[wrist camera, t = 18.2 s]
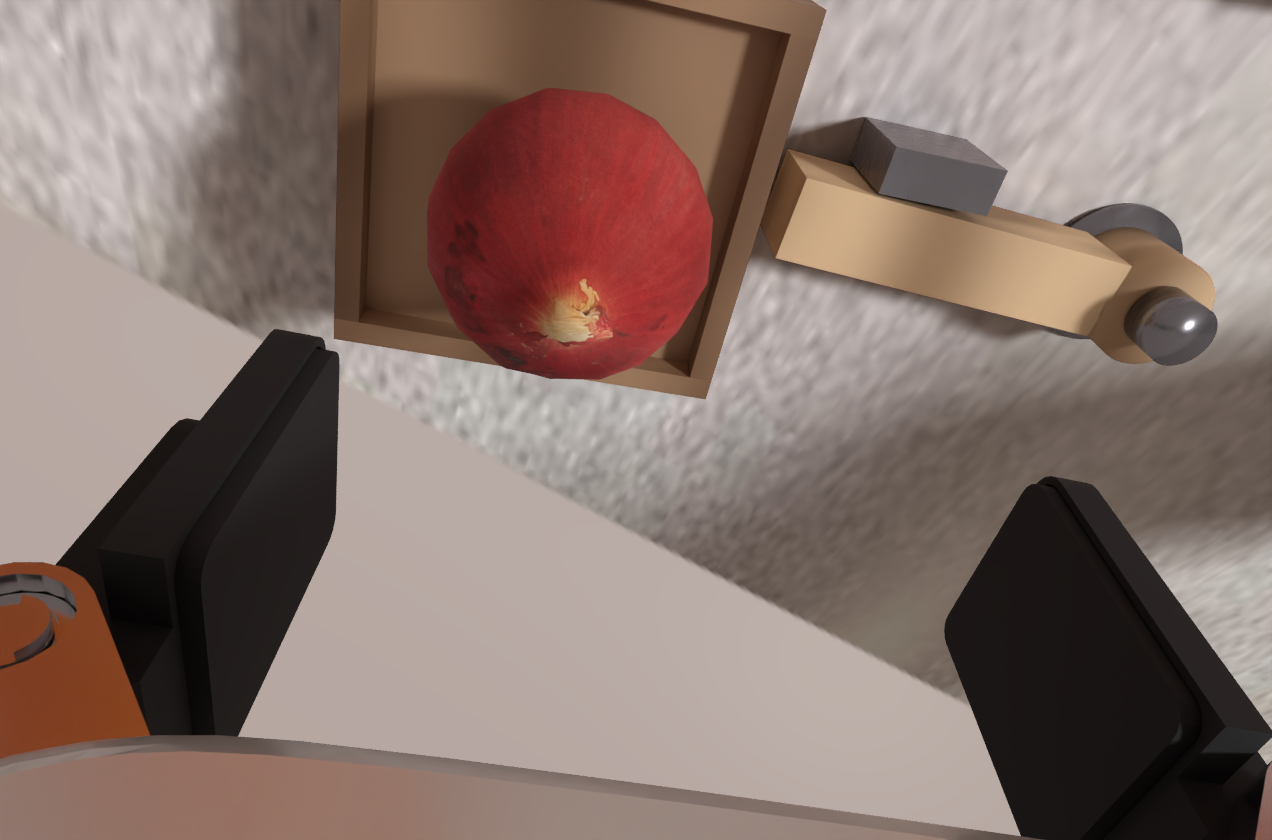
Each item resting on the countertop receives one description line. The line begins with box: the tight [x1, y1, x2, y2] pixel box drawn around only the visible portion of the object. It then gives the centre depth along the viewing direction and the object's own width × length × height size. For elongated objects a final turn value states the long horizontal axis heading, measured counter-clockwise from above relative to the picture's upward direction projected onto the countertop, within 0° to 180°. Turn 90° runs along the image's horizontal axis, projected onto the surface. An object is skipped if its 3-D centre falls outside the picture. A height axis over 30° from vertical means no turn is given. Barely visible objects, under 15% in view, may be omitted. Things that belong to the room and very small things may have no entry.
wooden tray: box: [334, 0, 826, 399], centre depth 21 cm, size 10×10×4 cm
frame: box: [851, 117, 1217, 366], centre depth 23 cm, size 11×5×4 cm, turn 78°
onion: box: [427, 88, 713, 380], centre depth 17 cm, size 6×6×8 cm
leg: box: [760, 149, 1215, 364], centre depth 24 cm, size 13×3×2 cm, turn 75°
